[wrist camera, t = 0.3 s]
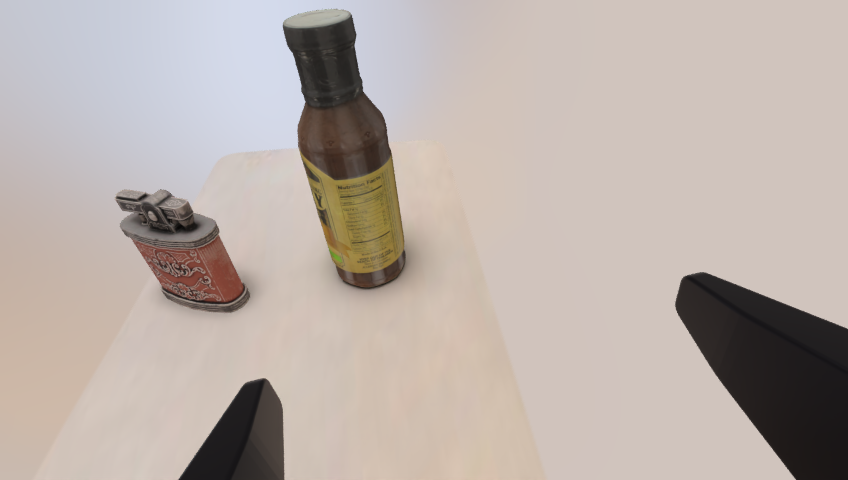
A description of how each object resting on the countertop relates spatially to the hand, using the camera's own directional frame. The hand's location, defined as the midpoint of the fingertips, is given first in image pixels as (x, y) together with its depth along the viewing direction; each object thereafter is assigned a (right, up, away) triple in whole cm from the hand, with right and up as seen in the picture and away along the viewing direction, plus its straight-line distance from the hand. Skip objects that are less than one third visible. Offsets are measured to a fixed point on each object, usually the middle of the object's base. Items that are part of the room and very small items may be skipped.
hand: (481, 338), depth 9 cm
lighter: (-20, -3, +27) cm, 34 cm away
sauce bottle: (-6, 0, +28) cm, 29 cm away
